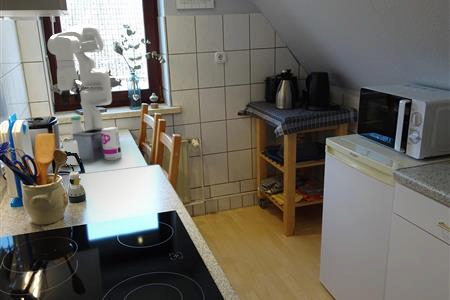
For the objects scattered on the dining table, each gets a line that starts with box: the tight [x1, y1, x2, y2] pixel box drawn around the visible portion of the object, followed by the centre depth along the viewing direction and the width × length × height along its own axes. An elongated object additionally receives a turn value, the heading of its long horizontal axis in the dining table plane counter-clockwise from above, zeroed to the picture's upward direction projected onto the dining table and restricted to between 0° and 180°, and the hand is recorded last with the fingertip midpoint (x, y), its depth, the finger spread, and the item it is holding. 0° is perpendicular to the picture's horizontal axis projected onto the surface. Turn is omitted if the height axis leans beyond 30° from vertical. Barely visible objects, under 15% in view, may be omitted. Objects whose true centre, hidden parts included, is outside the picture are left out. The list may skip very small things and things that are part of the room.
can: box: [62, 138, 79, 166], centre depth 188 cm, size 6×6×12 cm
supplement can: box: [101, 126, 123, 161], centre depth 195 cm, size 8×8×15 cm
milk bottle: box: [70, 115, 86, 139], centre depth 206 cm, size 8×8×20 cm
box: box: [73, 127, 105, 162], centre depth 201 cm, size 12×16×13 cm
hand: (71, 102), depth 184 cm, fingers open, 9 cm apart
